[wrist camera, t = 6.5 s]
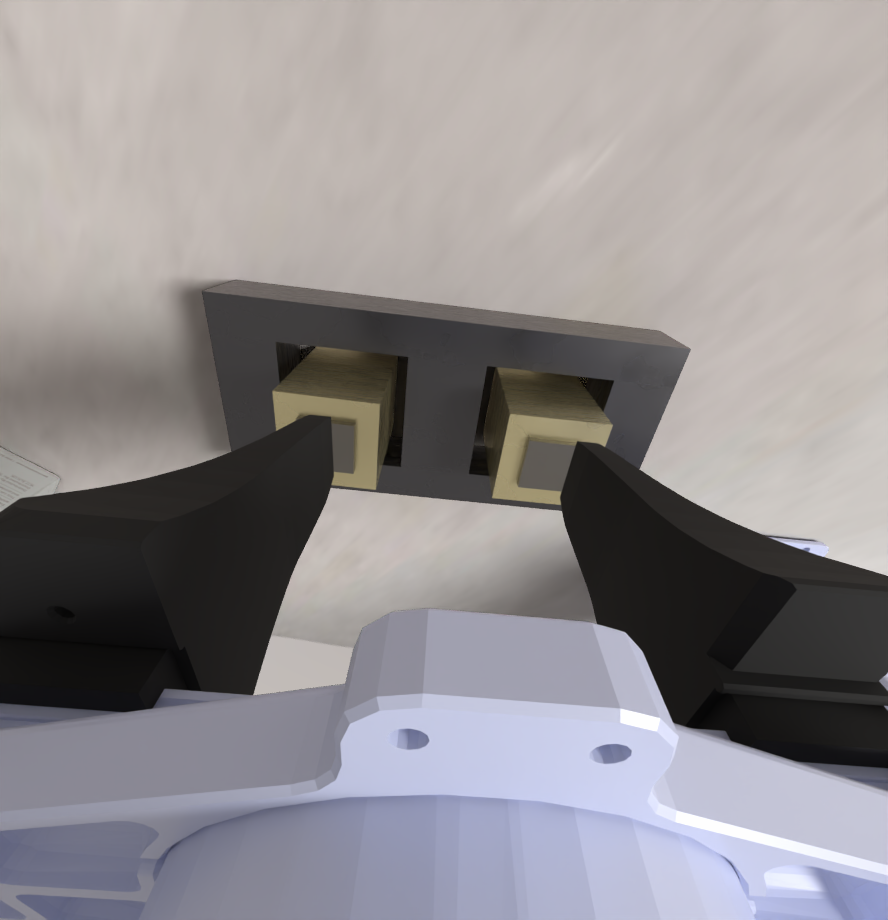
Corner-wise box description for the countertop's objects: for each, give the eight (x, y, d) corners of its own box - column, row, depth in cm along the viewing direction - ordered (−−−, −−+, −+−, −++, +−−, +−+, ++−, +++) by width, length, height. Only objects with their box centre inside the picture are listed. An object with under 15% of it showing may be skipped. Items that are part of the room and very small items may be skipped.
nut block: (397, 355, 21) (378, 407, 15) (393, 426, 23) (374, 493, 17) (317, 345, 20) (269, 394, 15) (320, 417, 22) (278, 483, 17)
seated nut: (573, 372, 21) (615, 428, 15) (553, 440, 23) (585, 511, 18) (495, 363, 21) (511, 417, 15) (483, 432, 23) (492, 502, 17)
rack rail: (659, 330, 20) (691, 349, 17) (601, 484, 24) (619, 516, 22) (235, 279, 19) (201, 291, 16) (260, 448, 23) (236, 478, 21)
